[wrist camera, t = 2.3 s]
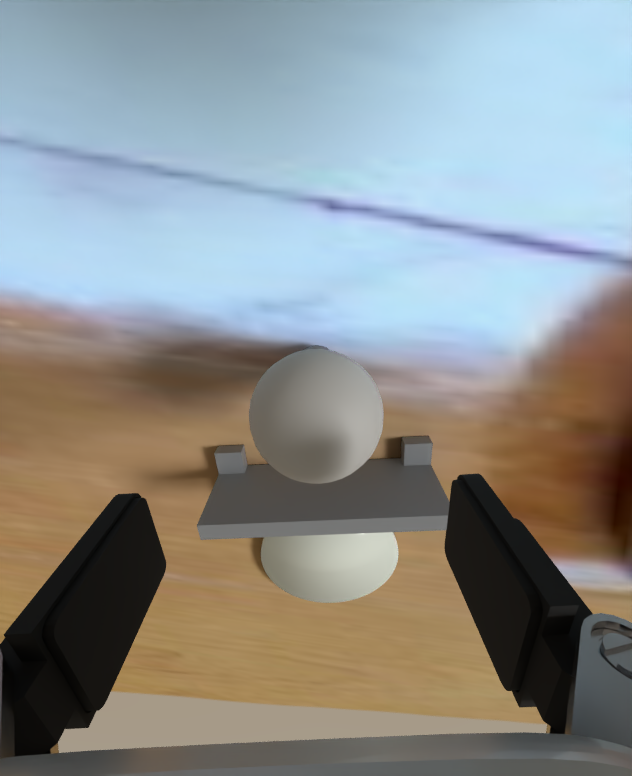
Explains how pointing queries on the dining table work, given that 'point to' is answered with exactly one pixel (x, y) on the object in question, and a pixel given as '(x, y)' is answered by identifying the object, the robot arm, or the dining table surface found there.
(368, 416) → the lightbulb
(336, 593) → the white round dome
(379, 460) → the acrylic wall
